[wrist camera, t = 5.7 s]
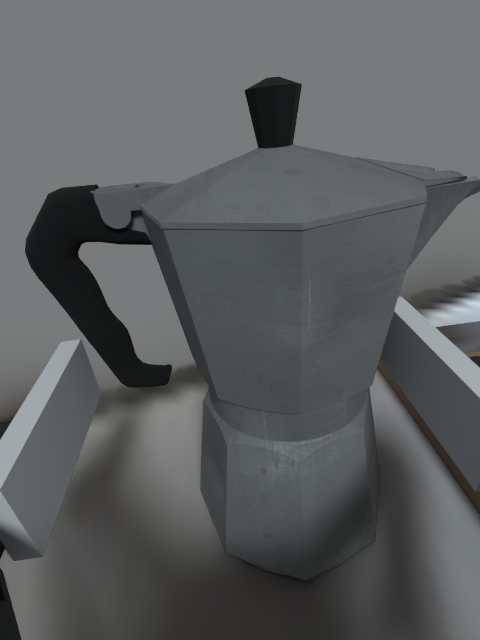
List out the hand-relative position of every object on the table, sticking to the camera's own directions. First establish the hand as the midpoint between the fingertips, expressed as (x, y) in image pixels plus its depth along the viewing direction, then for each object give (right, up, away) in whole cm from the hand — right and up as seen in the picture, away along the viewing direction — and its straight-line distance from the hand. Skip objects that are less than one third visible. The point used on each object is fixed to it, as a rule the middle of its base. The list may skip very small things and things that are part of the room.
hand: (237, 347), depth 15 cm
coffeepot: (+2, -8, +5) cm, 9 cm away
